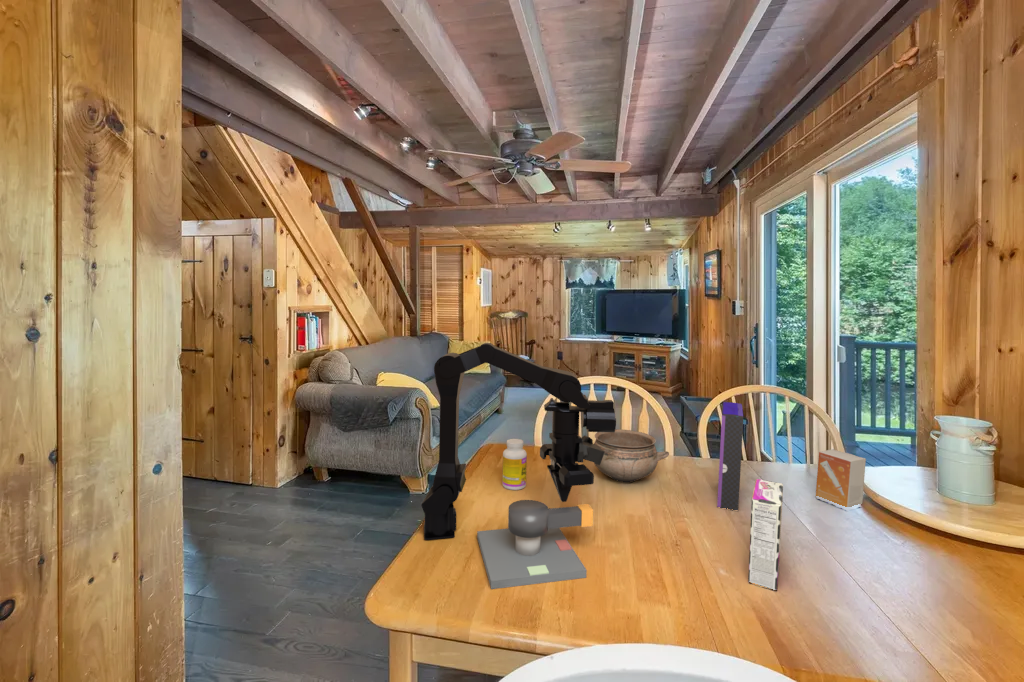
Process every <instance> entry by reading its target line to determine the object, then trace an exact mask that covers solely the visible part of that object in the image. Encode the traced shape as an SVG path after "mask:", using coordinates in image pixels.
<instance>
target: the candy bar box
mask: <svg viewBox="0 0 1024 682" xmlns="http://www.w3.org/2000/svg"><path fill="white" fill-rule="evenodd" d="M783 492H784V484H783V483H781V482H776V481H771V480H765V479H761V478H758V479H757V478H756V479H755V484H754V488H753V492H752V497H751V512H750V534H749V535H750V536H749V555H748V556H749V557H748V578H747V579H748V580H747V583H749V582H751V583H755V584H758V585H760V586H764V587H767V588H770V589H773V590H772V591H774V590H777V591H778V586H779V585H778V584H779V573H780V571H779V570H780V558H781V555H780V553H781V538H782V537H781V536H782V517H783V499H784V498H783V496H784V493H783ZM760 586H759V587H760ZM767 588H766V589H767ZM770 589H769V590H770Z"/></svg>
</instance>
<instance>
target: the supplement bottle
mask: <svg viewBox="0 0 1024 682" xmlns="http://www.w3.org/2000/svg"><path fill="white" fill-rule="evenodd" d="M506 447H507V448H505V449H504V450H503V451H502V487H503V488H504V489H506V490H510V491H518V490H523V489H524V488H525V487H526V486H527V457H528V456H527V451H526V450H525V449H524V440H522V439H520V438H510V439H507V440H506Z"/></svg>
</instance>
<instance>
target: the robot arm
mask: <svg viewBox="0 0 1024 682" xmlns="http://www.w3.org/2000/svg"><path fill="white" fill-rule="evenodd" d="M485 364H489V365H491V366H494V367H496V368H499V369H501V370H502V371H504V372H505V371H506V372H508V373H511V374H512V375H514V376H517V377H519V378H522V379H524V380H527V381H529V382H531V383H534V384H536V385H537V386H539V387H540V388H542V390H544V391H545V392H547V393H548V394H550V395H551V396H553V397H554V398H556V399H558V401H556V400H555V399H554V398H553V397H550V399H549V401H547V402H546V403H545V404H544V405H543V408H544V409H543V410H544V411H545V412H552V421H551V422H552V424H551V426H552V429H551V431H552V432H549V435H548V436H549V439H550V440H551V443H544V444H543V445H542V446H540V448H539V457H541V459H542V460H546V459H547V456H548V457H549V460H550V464H548V465H547V466H546V467H547V470H548V471H549V474H550V477H551V479H552V481H553V484H554V487H555V490H556V492H557V495H558V497H559V499H560V501H561V502H562V503H566V502H567V501H568V498H569V495H570V493H571V489H572V488H573V487H574V486H575V487H576V486H587V485H588V486H589V485H594V483H595V482H594V481H595V474H594V473H593V472H592V471H591V469H589V468H588V466H586V465H585V464H584V461H588V462H590V463H593V464H594V463H595V464H597V465H600V464H601V461H602V458H603V456H604V453H605V451H604V450H603V449H601V448H600V447H599V446H597V445H595V444H594V442H593V439H592V438H591V436H587V435H583V436H582V437H581V436H580V413H581V427H583V428H585V430H586V432H588V433H597V432H612V433H614V432H615V429H616V428H617V418H616V411H615V402H614V401H613V399H605V400H593V399H592V400H590V399H588V397H587V396H586V394H583V392H582V384H581V382H580V380H579V379H578V376H577V375H575V374H574V373H573V372H571V371H567V370H564V369H559V368H554V367H547V366H544V365H541V364H539V363H536V362H533V361H531V360H529V359H526V358H524V357H521V356H519V355H517V354H514V353H512V352H510V351H507V350H505V349H503V348H500V347H498V346H496V345H494V344H493V343H491V342H484V343H482V344H480V345H479V346H476V347H474V348H471V349H468V350H465V351H464V352H461V353H456V352H448V353H446V354H444V355H442V356H441V357H439V358H438V359H437V360H436V361H435V363H434V367H433V370H434V371H433V372H434V377H435V378H434V379H435V384H436V388H437V392H438V395H439V399H440V400H439V434H438V435H439V436H438V437H439V439H438V441H439V443H438V445H439V446H438V449H439V450H438V463H437V466H436V471H435V474H434V479H433V483H432V486H431V487H430V488H429V490H428V491H427V494H426V496H425V497H424V499H423V501H422V503H421V506H420V507H421V508H422V511H423V513H424V515H423V517H424V521H425V522H424V521H423V523H424V524H423V539H424V541H432V540H433V541H434V540H442V539H452V538H455V536H456V535H455V531H457V510H456V507H455V506H454V502H456V501H457V499H458V497H459V494H460V493H462V492H463V490H464V486H465V484H466V482H467V477H466V474H465V472H466V469H467V468H466V467H467V463H461V462H460V459H459V423H460V422H459V421H460V420H459V419H460V417H459V415H460V412H459V411H460V393H461V389H462V385H463V382H464V377H465V373H466V372H468V371H470V370H473V369H474V368H476V367H479V366H481V365H485ZM570 403H572V404H573V405H570ZM579 463H580V464H579ZM581 463H583V464H581ZM595 464H594V465H595Z"/></svg>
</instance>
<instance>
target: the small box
mask: <svg viewBox="0 0 1024 682" xmlns="http://www.w3.org/2000/svg"><path fill="white" fill-rule="evenodd" d="M866 461H867V458H865V457H861V456H857V455H854V454H851V453H848V452H844V451H840V450H837V449H827V450H821V451H819V452H818V462H817V471H816V472H817V473H816V474H817V475H816V488H815V497H816V496H819V497H822V498H824V499H827V500H829V501H832V502H834V503H837V504H839V505H842V506H845V507H852V506H854V505H858V504H862V505H863V501H864V500H863V499H864V498H863V497H864V487H865V485H864V484H865V473H866Z"/></svg>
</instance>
